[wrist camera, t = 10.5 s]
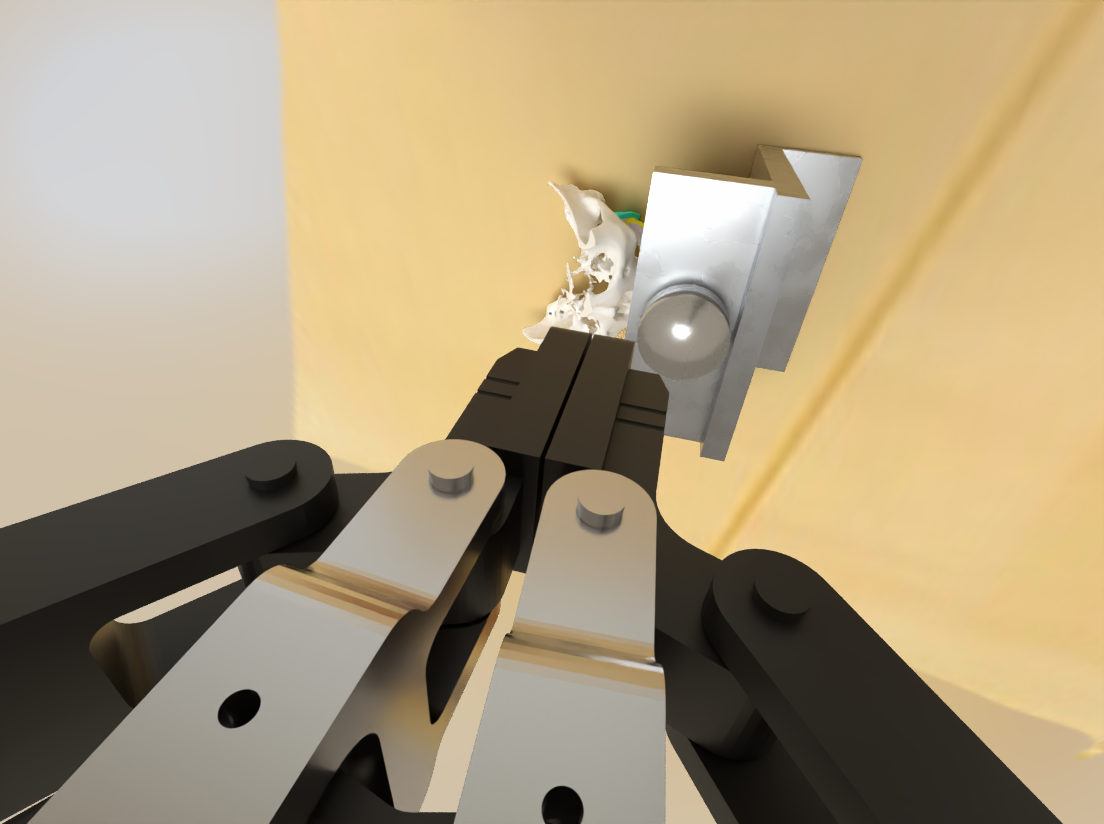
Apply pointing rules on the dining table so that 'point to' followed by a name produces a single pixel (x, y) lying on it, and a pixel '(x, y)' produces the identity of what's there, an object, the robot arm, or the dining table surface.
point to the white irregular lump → (595, 267)
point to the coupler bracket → (730, 279)
